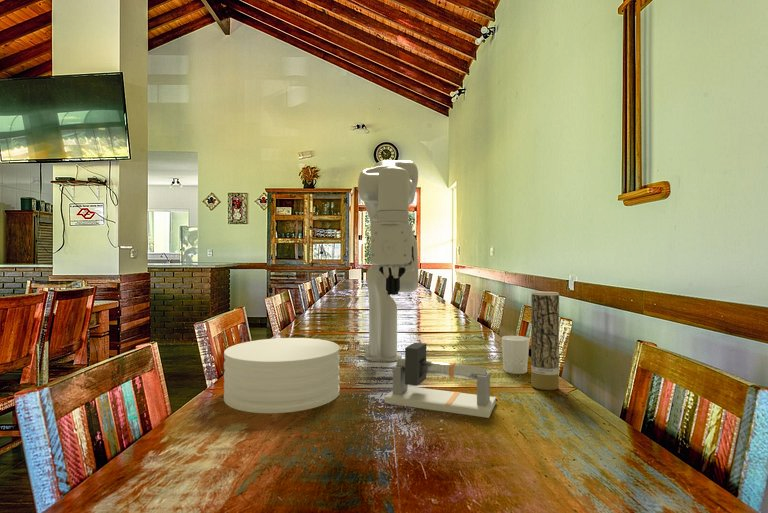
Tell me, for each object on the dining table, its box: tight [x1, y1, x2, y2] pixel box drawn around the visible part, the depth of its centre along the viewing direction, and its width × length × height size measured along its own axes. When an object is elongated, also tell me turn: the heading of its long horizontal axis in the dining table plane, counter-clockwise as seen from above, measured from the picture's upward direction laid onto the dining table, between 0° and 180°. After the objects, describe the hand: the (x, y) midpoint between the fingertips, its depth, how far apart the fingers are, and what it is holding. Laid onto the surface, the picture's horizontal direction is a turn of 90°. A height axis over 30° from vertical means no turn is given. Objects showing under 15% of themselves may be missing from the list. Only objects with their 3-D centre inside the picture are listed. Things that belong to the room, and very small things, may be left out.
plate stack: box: [223, 337, 341, 414], centre depth 110 cm, size 28×28×12 cm
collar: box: [404, 342, 427, 387], centre depth 105 cm, size 3×7×8 cm, turn 157°
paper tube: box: [530, 290, 560, 391], centre depth 116 cm, size 7×7×25 cm
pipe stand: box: [384, 364, 497, 419], centre depth 103 cm, size 24×10×8 cm, turn 67°
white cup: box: [501, 335, 530, 375], centre depth 132 cm, size 8×8×10 cm
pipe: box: [395, 358, 488, 381], centre depth 103 cm, size 21×3×3 cm, turn 67°
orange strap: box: [445, 362, 461, 406], centre depth 102 cm, size 1×10×8 cm, turn 157°
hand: (392, 294), depth 108 cm, fingers closed
